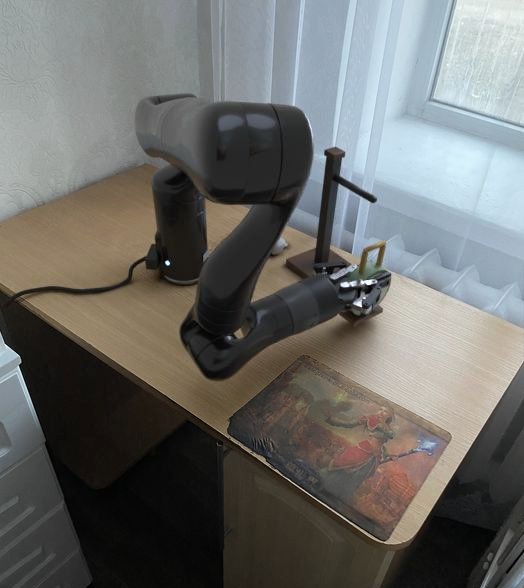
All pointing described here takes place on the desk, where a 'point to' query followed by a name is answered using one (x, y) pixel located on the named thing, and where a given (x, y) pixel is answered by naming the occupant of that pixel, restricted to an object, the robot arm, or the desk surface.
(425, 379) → the desk surface
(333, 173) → the rack
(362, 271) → the clock
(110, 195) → the desk surface
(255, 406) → the desk surface
